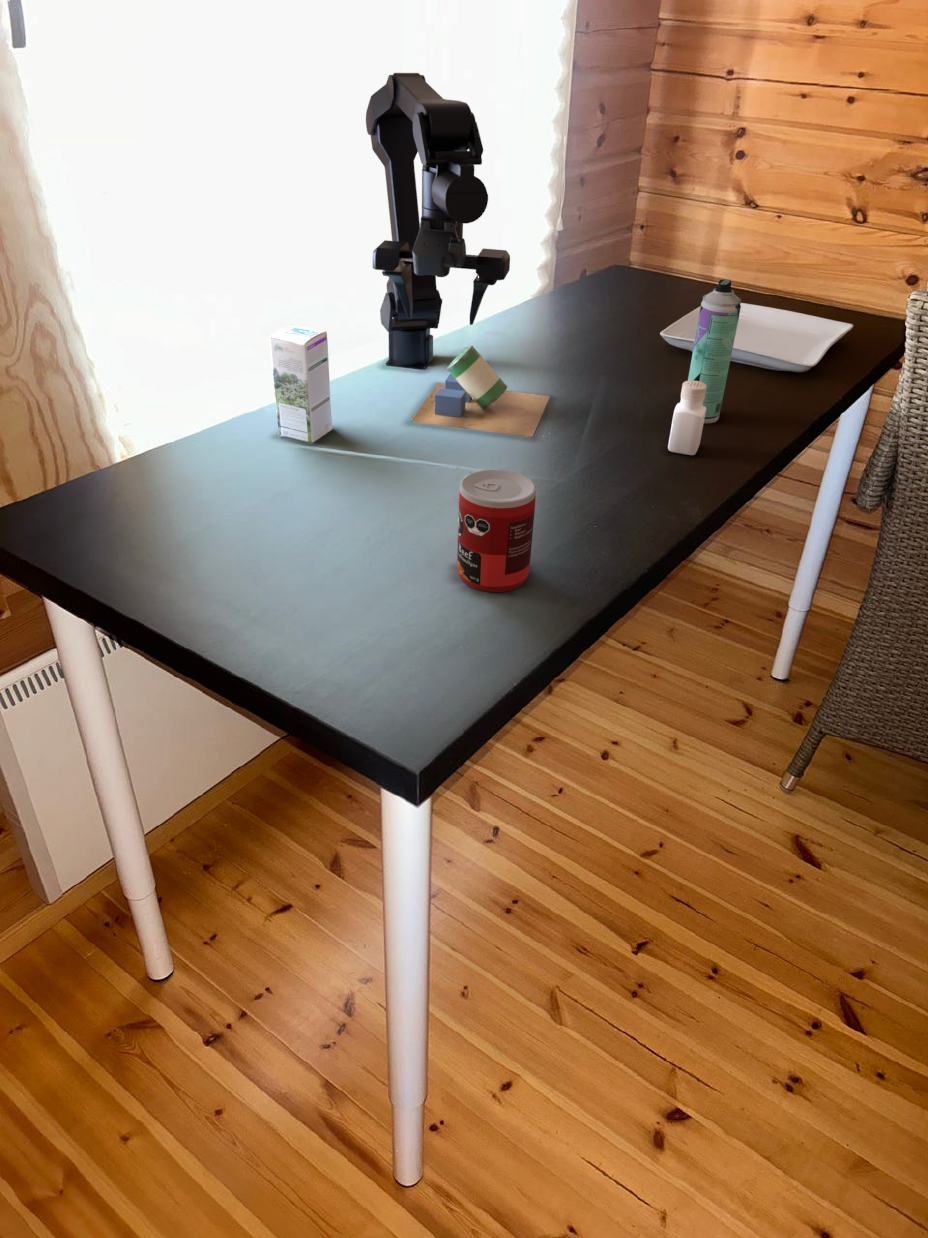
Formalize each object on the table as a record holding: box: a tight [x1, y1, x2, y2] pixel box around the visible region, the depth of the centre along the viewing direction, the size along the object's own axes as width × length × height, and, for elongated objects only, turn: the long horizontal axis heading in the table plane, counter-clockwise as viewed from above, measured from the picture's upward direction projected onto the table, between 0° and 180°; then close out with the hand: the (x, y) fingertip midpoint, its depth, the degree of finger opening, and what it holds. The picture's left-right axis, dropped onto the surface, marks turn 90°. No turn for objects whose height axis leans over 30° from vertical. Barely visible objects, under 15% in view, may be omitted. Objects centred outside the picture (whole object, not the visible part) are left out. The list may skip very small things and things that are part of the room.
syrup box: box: [269, 324, 333, 444], centre depth 129 cm, size 6×6×14 cm
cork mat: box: [410, 382, 551, 438], centre depth 143 cm, size 18×16×1 cm
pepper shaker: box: [667, 380, 707, 456], centre depth 131 cm, size 4×4×10 cm
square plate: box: [659, 302, 854, 373], centre depth 170 cm, size 27×27×4 cm
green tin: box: [446, 344, 508, 410], centre depth 140 cm, size 9×5×9 cm, turn 77°
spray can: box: [687, 278, 742, 424], centre depth 138 cm, size 6×6×20 cm
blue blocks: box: [435, 373, 472, 417], centre depth 142 cm, size 4×9×3 cm, turn 167°
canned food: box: [456, 469, 537, 593], centre depth 102 cm, size 8×8×11 cm
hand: (440, 320), depth 138 cm, fingers open, 9 cm apart
